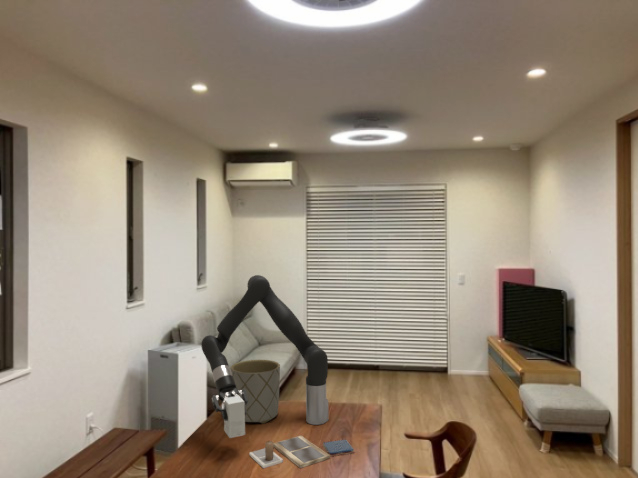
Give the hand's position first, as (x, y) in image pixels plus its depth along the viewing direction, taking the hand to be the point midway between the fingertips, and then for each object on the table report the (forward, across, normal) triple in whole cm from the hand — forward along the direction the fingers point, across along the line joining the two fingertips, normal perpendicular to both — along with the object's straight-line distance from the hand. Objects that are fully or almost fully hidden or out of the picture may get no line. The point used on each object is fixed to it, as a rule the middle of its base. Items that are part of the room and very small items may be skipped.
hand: (235, 417), depth 177 cm
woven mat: (+24, +35, -2) cm, 42 cm away
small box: (+4, 0, +6) cm, 7 cm away
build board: (+19, +21, +1) cm, 29 cm away
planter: (-11, +22, +32) cm, 41 cm away
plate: (+17, +8, +3) cm, 19 cm away
